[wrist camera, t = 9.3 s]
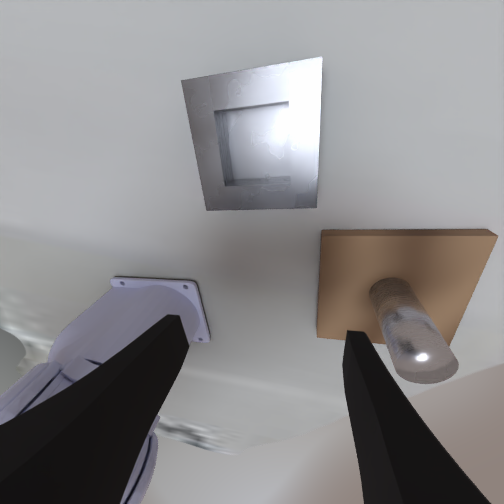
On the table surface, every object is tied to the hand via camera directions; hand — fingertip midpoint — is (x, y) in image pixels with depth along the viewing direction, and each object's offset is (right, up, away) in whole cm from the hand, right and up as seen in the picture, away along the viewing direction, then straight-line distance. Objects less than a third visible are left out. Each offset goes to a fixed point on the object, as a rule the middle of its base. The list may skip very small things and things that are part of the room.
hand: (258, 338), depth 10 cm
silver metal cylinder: (+10, +1, +7) cm, 12 cm away
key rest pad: (+10, +1, +8) cm, 13 cm away
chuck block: (0, +11, +5) cm, 12 cm away
